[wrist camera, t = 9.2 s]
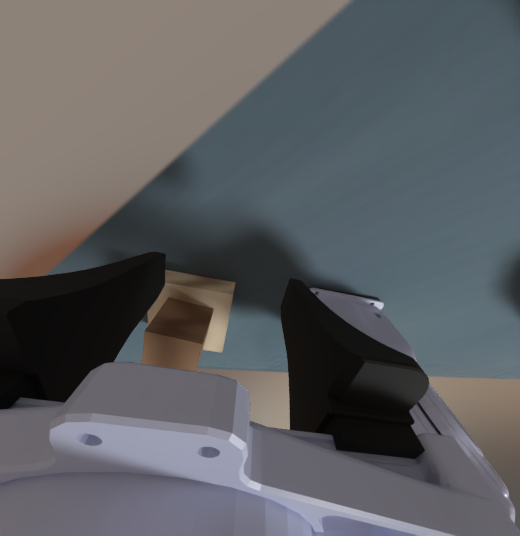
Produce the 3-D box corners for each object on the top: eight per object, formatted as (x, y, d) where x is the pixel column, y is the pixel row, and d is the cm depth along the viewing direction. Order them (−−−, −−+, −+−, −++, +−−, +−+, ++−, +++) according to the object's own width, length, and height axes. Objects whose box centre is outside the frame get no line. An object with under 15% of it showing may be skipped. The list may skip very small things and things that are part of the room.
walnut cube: (213, 308, 23) (202, 344, 18) (205, 340, 25) (193, 378, 20) (168, 297, 22) (144, 331, 18) (163, 330, 24) (141, 368, 20)
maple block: (235, 280, 25) (233, 294, 22) (225, 334, 29) (222, 352, 26) (158, 266, 24) (146, 279, 21) (159, 324, 28) (148, 341, 25)
